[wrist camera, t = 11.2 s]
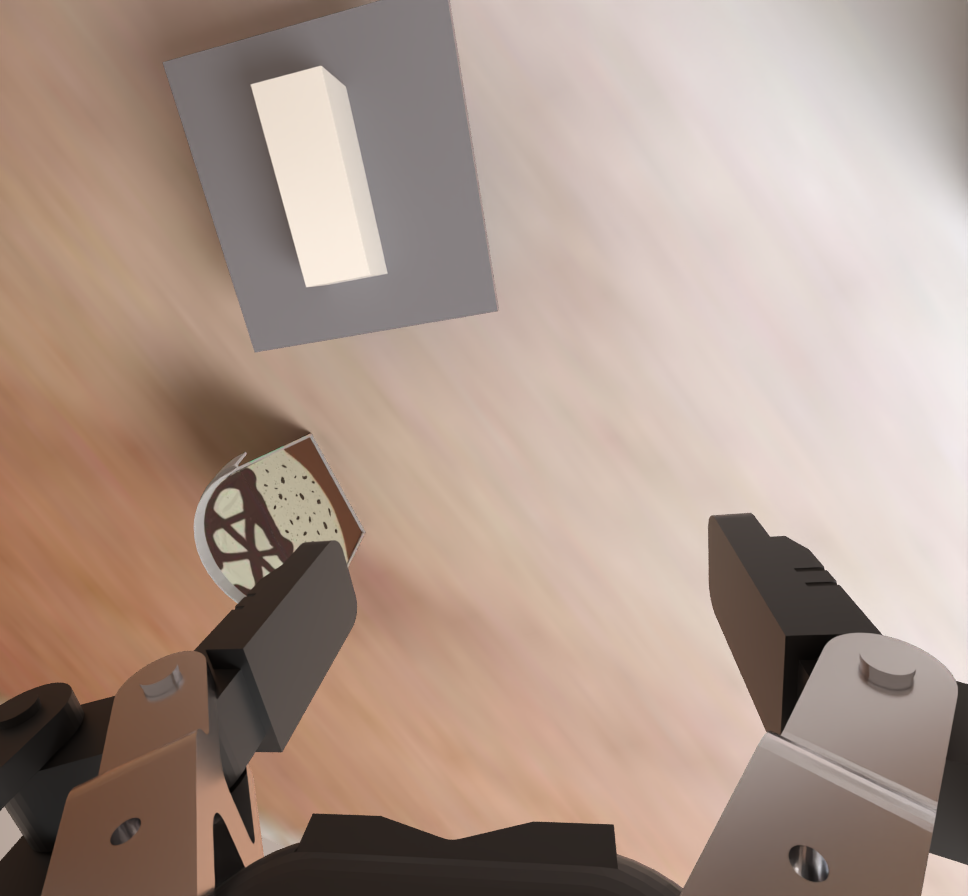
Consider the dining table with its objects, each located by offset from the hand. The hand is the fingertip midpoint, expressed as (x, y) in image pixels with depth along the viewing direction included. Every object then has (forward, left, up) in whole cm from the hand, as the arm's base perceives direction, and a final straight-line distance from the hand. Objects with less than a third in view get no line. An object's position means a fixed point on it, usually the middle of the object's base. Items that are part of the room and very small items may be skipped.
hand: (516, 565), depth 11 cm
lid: (+9, -11, -21) cm, 25 cm away
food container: (+20, +9, -27) cm, 35 cm away
